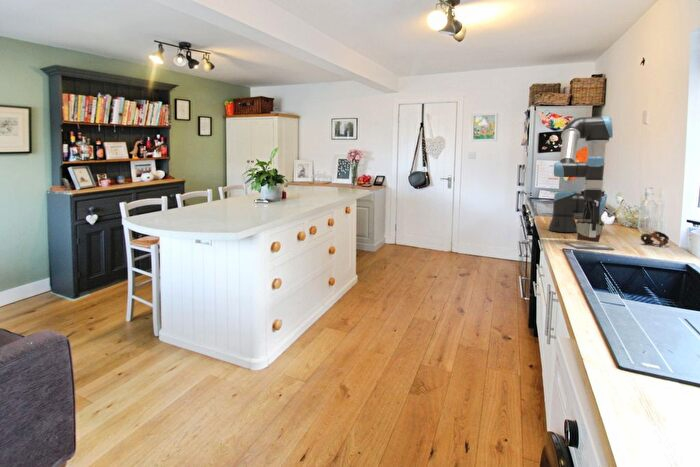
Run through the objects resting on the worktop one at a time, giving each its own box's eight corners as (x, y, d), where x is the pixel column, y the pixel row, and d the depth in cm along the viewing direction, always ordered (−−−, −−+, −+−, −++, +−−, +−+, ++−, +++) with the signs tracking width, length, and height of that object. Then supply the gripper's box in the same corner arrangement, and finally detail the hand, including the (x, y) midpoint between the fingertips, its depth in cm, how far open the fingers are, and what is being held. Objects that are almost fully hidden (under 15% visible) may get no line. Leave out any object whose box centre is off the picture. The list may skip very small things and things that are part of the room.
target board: (564, 243, 220) (564, 242, 220) (598, 244, 217) (598, 243, 217) (577, 248, 202) (577, 247, 202) (613, 250, 199) (614, 248, 199)
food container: (604, 241, 209) (606, 220, 207) (602, 242, 204) (605, 222, 202) (576, 238, 216) (578, 218, 214) (573, 239, 211) (575, 219, 209)
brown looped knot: (656, 244, 223) (665, 232, 218) (664, 255, 215) (674, 242, 210) (633, 239, 223) (642, 226, 218) (640, 249, 215) (650, 236, 211)
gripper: (577, 188, 217) (573, 233, 219) (592, 189, 197) (588, 238, 200) (593, 189, 216) (589, 234, 218) (610, 189, 196) (606, 239, 198)
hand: (589, 236), depth 209 cm, fingers closed on food container, 7 cm apart
